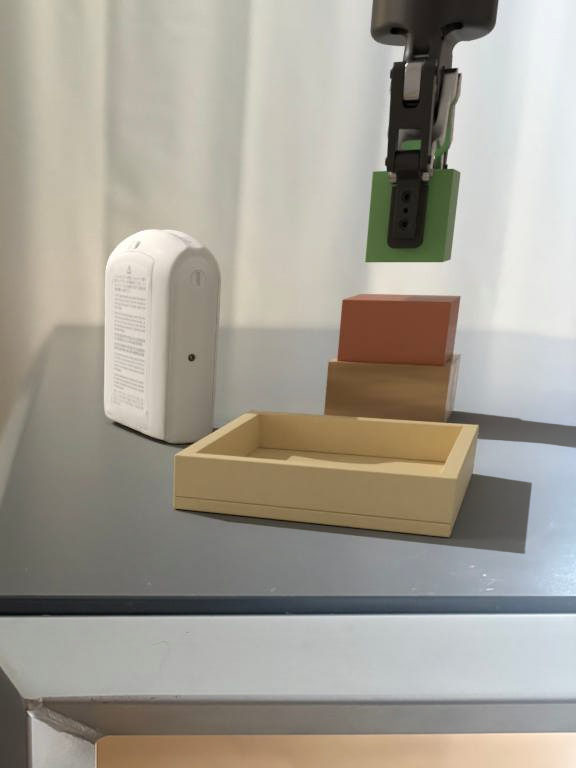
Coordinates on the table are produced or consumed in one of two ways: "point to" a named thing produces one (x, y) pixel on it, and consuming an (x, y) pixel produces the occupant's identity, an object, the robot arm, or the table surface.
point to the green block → (436, 221)
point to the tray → (331, 471)
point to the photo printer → (162, 335)
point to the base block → (392, 390)
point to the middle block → (398, 328)
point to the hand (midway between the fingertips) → (410, 246)
